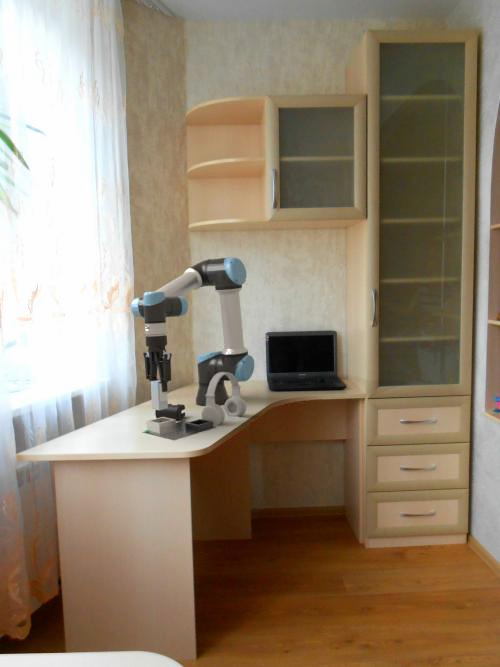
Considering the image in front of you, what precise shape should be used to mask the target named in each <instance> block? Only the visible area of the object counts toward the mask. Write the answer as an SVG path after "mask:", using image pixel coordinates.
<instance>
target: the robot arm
mask: <svg viewBox="0 0 500 667" xmlns="http://www.w3.org/2000/svg"><path fill="white" fill-rule="evenodd" d="M247 275H248V274H247V269H246V266H245V264H244V262H243V261H242V260H241V259H240V258H238V257H228V256H227V257H223V258H222V257H221V258H211V259H210V258H209V259H204V260H203V261H200V262H198V263H196V264H194V265H192V266H190V267H189V268H187V269H186V270H184V272H183V274H181V275H180V276H179V277H177V278H175V279H173V280H171V281H170V282H168V283H167V284H165V285H163V286H161V287H160V288H158V289H157V290H155V291H146V292H144V293H143V296H142V297H136V298H134V299H133V300H132V302H131V304H130V308H131V309H130V310H131V313H132V314H133V315H134V316H135V317H136V318H142V319H143V318H144V331H145V332H144V334H145V335H146V336H145V346H146V347H147V348H148V350H147V351H146V352H143V354H142V355H143V357H144V358H143V359H144V367H145V368H144V369H145V379H146V380H147V381H148V380H149V383H150V384H151V381H155V380H160V381H161V382H159V390H160V401H161V402H162V401H166V400H167V399H168V382H171V381H172V363H171V362H172V361H171V360H172V353H169V352H167V350H166V346H168V337H167V335H166V334H167V332H168V331H167V330H168V329H167V318H174V317H176V318H177V317H178V318H179V317H181V316H184V315H186V314H187V312H188V310H189V303H188V300H187V299H186V298H185V297H184V296H185V295H186V294H188V293H189V292H191V291H193V290H194V291H196V290H200V288H203V287H214V290H215V292H216V293H218V294H219V296H218V297H219V304H220V307H219V308H220V315H221V316H220V317H221V325H222V326H221V327H222V336H223V345H224V349H222V350H215V351H209V352H205V353H200V354H199V355H198V356H197V377H198V389H197V394H196V397H195V404H196V405H198V406H203V407H205V406H206V396H205V395H206V394H207V390H208V386H209V384H210V381H211V380H212V378H213V377H214V376H215V375H216V374H217V373H219V372H228V373H232V374H233V375H234V376H235V377H236V379H237V381H238V383H240V382H243V383H244V382H247V381H249V380H250V379H251V377H252V375H253V374H254V371H255V359H254V358H253V356H252V355H250V354H249V351H248V350H249V349H247V348H246V347H245V342H244V332H243V322H242V321H243V320H242V311H241V310H242V309H241V300H240V291H241V290H242V289H243V284H245V283H246V281H247V280H246V279H247ZM158 374H159V379H158ZM225 381H226V382H231V381H230V379H229V378H228V377H227V376H226V375H223V376H222V377H221V378H220V380H219V381H218V383H217V386H216V389H215V394H214V395H215V404H217V405H219V406H220V405H221V406H222V405H225V402H226V401H227V400H228V399H229V398H230V397H229V395H228V392H227V388H226V385H225Z"/></svg>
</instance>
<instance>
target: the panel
mask: <svg viewBox="0 0 500 667" xmlns="http://www.w3.org/2000/svg"><path fill="white" fill-rule="evenodd" d="M216 428H217V426H213V421H208V420H203V419H202V418H198V419H194V420H191V421H189V420H184V419H183V420H180V421H177V422H176V419H171V418H166V417H160V418H156V417H155V418H153V419H150V420H149V419H148V420H146V430H144V431H142V432H141V433H143V434H147V435H149V436H150V435H151V436H154V437H158V438H163V439H167V440H171V441H177V440H180V439H183V438H187V437H190V436H192V435H196V434H199V433H202V432H206V431H209V430H212V429H216Z"/></svg>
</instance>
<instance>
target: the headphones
mask: <svg viewBox="0 0 500 667" xmlns="http://www.w3.org/2000/svg"><path fill="white" fill-rule="evenodd" d="M223 375H226V376H227V377H228V378H229V379H230V381H229V382H230V385H231V396H230V397H229V399H228V400H227V401H226V402H225V404H223V405H224V408H223V407H222V405H221V406H220V405H217V404H215V395H214V394H215V389H216V386H217V383H218V381H219V380H220V378H221V377H222V376H223ZM241 388H242V387H241V385H240V384H239V382H238V381H237V379H236V377H235V376H234V375H233V374H232V373H228V372H219V373H217V374H216V375H215V376H214V377H213V378H212V380H211V381H210V384H209V386H208V390H207V394H206V395H205V396H206V406H204V407H203V409H202V411H201V419H203V420H208V421H213V426H214V427H218V426H220V425H221V424H223V422H224V421H225V417H226V415H227V416H228V417H238V418H239V417H242V416H244V414H245V413H246V411H247V403H246V401H245V400H244V398H243V397H242V394H241ZM225 414H226V415H225Z"/></svg>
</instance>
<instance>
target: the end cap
mask: <svg viewBox="0 0 500 667" xmlns="http://www.w3.org/2000/svg"><path fill="white" fill-rule="evenodd" d="M154 410H155V409H154ZM184 410H186V406H185V404H180V403H179V404H172V403H168V408H167V409H163V410H155V412H154V415H155V419H156V418H160V417H166V418H171V419H176V421H177V422H181V421H182V418H184V417H186V411H184ZM183 411H184V412H183Z"/></svg>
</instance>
